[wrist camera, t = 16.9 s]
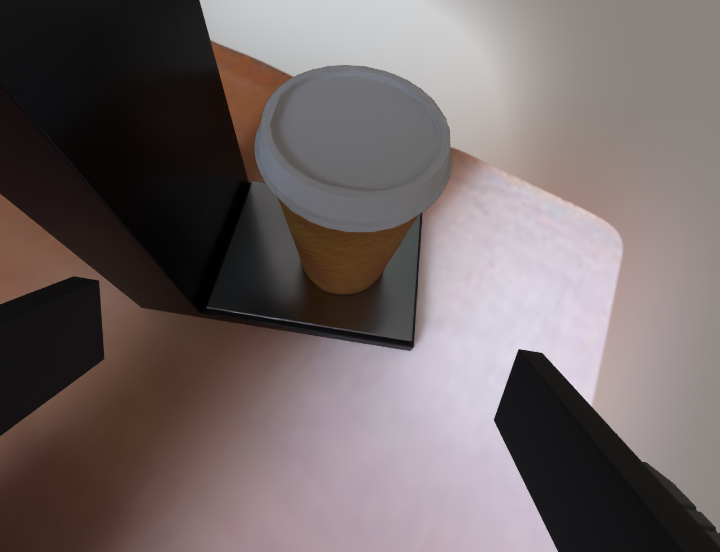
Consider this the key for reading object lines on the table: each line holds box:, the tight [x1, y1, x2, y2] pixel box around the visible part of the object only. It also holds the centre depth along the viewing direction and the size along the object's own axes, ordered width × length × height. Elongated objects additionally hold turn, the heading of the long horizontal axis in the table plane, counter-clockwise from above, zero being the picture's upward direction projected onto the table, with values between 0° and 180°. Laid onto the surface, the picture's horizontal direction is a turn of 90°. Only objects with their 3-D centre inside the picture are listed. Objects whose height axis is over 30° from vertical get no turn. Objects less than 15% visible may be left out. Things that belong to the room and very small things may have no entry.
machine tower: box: [0, 0, 249, 317], centre depth 16 cm, size 12×6×26 cm, turn 172°
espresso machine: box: [201, 181, 422, 351], centre depth 16 cm, size 12×15×26 cm
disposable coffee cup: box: [254, 65, 452, 294], centre depth 21 cm, size 10×10×12 cm
